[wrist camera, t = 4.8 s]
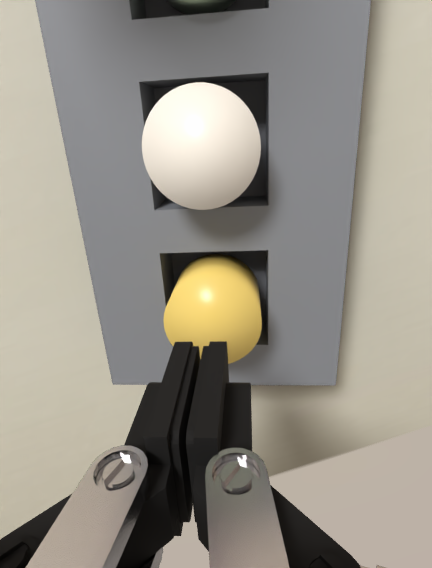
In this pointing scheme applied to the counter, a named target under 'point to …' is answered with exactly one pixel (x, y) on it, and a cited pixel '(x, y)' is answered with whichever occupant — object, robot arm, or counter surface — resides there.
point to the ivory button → (201, 146)
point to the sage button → (200, 6)
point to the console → (244, 209)
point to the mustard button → (215, 305)
